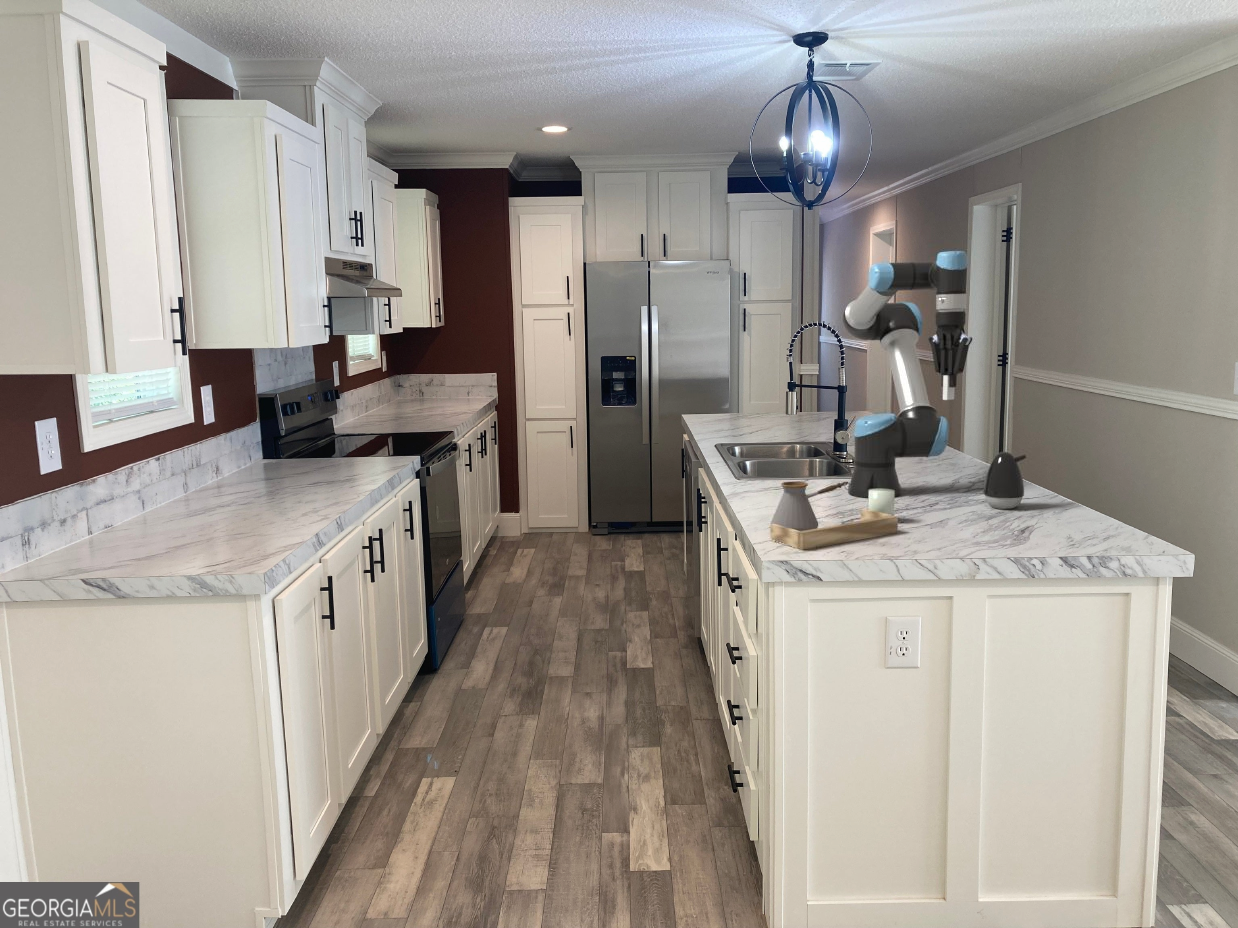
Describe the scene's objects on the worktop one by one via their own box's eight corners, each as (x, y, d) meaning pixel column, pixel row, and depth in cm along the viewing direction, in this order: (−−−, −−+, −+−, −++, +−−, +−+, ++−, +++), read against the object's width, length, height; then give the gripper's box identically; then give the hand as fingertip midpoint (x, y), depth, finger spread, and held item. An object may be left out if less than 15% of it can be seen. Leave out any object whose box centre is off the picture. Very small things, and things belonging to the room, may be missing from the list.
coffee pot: (761, 535, 228) (760, 475, 226) (790, 527, 236) (790, 469, 233) (834, 550, 212) (834, 485, 210) (862, 541, 220) (863, 478, 218)
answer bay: (770, 540, 223) (770, 524, 222) (863, 524, 237) (863, 508, 237) (802, 550, 213) (802, 533, 212) (897, 532, 227) (897, 516, 227)
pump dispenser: (1028, 511, 246) (1030, 454, 244) (986, 510, 249) (988, 454, 246) (1020, 503, 256) (1022, 449, 254) (979, 503, 258) (981, 449, 256)
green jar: (862, 520, 242) (863, 490, 240) (881, 517, 245) (881, 487, 243) (881, 525, 236) (881, 493, 235) (899, 521, 239) (900, 491, 238)
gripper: (921, 311, 251) (919, 399, 255) (960, 310, 240) (958, 402, 244) (941, 311, 255) (939, 397, 259) (980, 310, 244) (977, 400, 247)
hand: (948, 399), depth 251 cm, fingers closed
